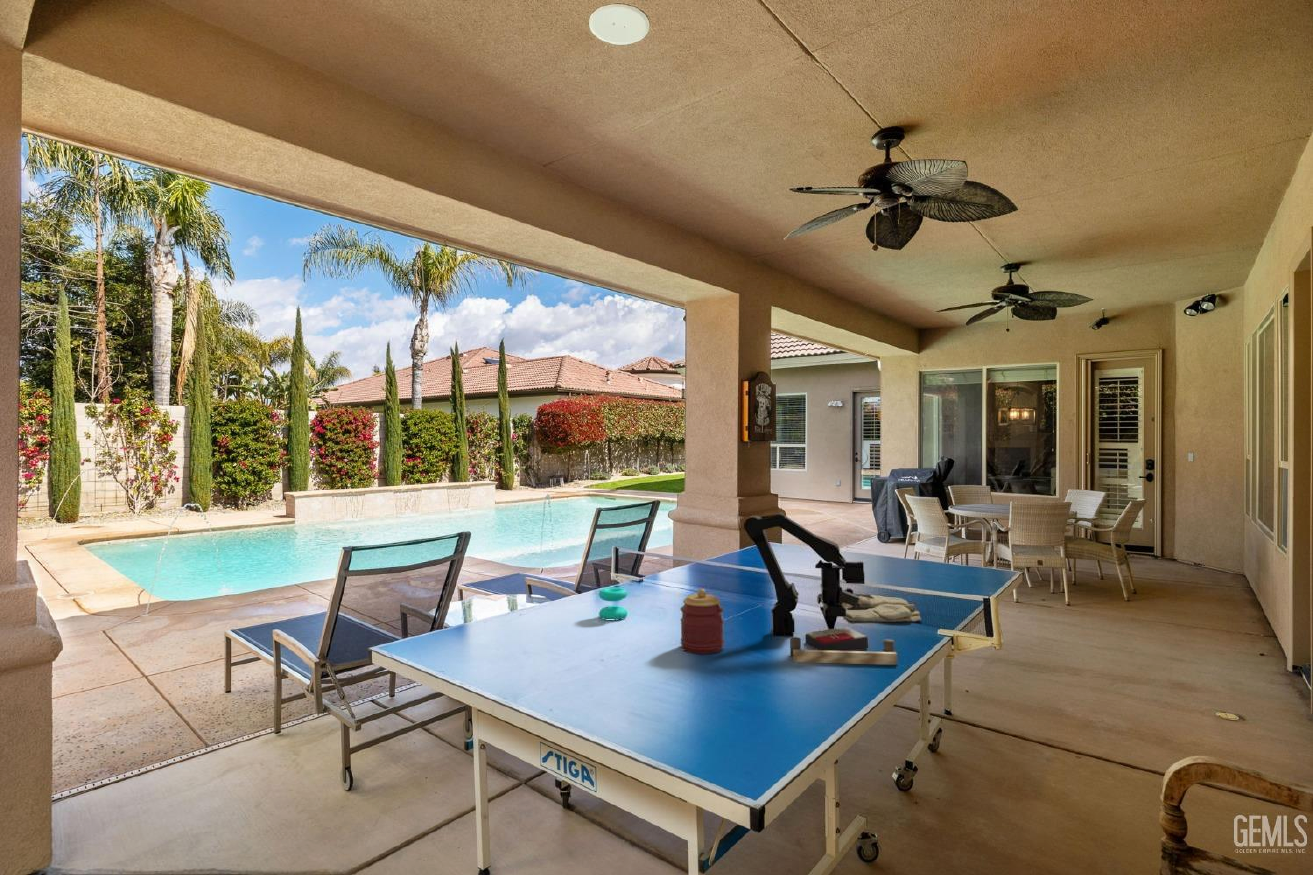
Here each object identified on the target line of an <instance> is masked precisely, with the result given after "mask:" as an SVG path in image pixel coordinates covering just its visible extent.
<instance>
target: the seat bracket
mask: <svg viewBox="0 0 1313 875" xmlns="http://www.w3.org/2000/svg"><path fill="white" fill-rule="evenodd" d="M789 640H790V641H789V644H790V645H789V651H790V652H789V653H790V654H789V655H790V657H791V658H792V660H793V663H811V664H813V663H815V664H817V663H818V664H821V663H822V664H849V665H850V664H851V665H853V664H854V665H855V664H857V665H859V664H860V665H891V666H894V665H895V666H898V653H897V652H896V650H895V648H896V646H895V640H894V639H891V638H889V639H888V638H887V639H886V638H884V639H883V640H882V648H883V649H882V651H871V650H869V651H865V650H864V651H862V650H861V651H860V650H848V651H829V650H817V649H802V645H801V644H802V642H801V641H802V638H800V637H798V636H790V638H789Z"/></svg>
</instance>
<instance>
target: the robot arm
mask: <svg viewBox="0 0 1313 875" xmlns="http://www.w3.org/2000/svg"><path fill="white" fill-rule="evenodd" d="M776 527H778V528H781V529H782V530H784V531H785V532H787V533H788V534H790V535H791V536H792V537H795V538H797V539H798V540H799V541H801V542H802V543H804V544H806V545H807V546H809V547H810V548H811V549H812V551H814V553H815V554H817V556H819V558H821V559H819V561H818V562H817V563H816V564H815V567H814V568H815V569H820V573H821V575H820V579H821V583H820V589H821V593H819V594H817V596H816V598H817V599H816V601H817V602H816V603H817V604H819V605H820V604H822V606H820V607H819V610H820V611H821V614H822V615H823V616H822V617H823V618H824V621H825V623H826V626H827V630H828V629H835V625H836V622H837V619H838V617H840V618H841V617H842V618H843V617H844V618H846V617H845V616H846V611H847V610H846V609H845V608H844V607H843V606H842V604H843V602H844V603H846V604H849V605H852V606H853V607H852V608H855V607H857V604H858V601H859V597H858V596H857V595H856V594H857V593H854V590H853V588H849V587H847V588H846V589H843V588H842V586H841V579H842V581H843V582H845V583H846V584H854V585H855V584H856V585H865V571H864V569H865V566H864V562H863V561H847V560H846V559H845V557H844V556H843V555H842V553H841V552H840V551H841V549H840V547H839V545H838V544H837V542H836V541H835V542H834V541H832V540H830V539H828V538H825V537H822V536H819V535H816V534H814V533H813V532H811V531H810V530H808V529H807V528H805V527H804V526H802V525H801V524H799V523H797V521H796V522H795V520H793V519H791V518H789V517H788V516H786V515H785V514H784V513H782V512H778V513H775V514H769V515H763V516H759V515H755V514H754V515H751V516H749V517H748V518H746V519H745V521H744V523H743V529H744V531H745V533H746V534H747V536H748V537H749V539H751V541H752V542H753V543H754V545H755V546H756V548H757V550H758V552H759V554H760V557H761V558H762V561H763V564H764V565H765V567H766V568H765V569H766V570H767V573H768V575H769V576H770V579H771V581H772V583H773V585H774V589H775V590H774V591H775V596H776V599H777V601H776V602H775V603H774V605H773V607H772V609H771V622H772V623H771V626H772V628H771V634H772V636H779V637H780V636H781V637H784V636H785V637H786V636H789V637H795V636H794V633H795V629H796V628H795V618H794V617H793V613H792V612H793V611H794V610H795V609H796V607H797V605H798V602H799V592H798V591H797V589H796V586H795V582H792V583H791V584H790V583H789V581H787V579H786V578H785V575H784V572H783V570H782V569H781V566H780V564H779V562H778V560H777V558H776V555H775V553H774V551H773V549H772V546H771V544H770V542H769V539H768V534H767V530H768V529H772V528H776ZM824 561H825V562H824ZM834 564H835V565H834Z"/></svg>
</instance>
